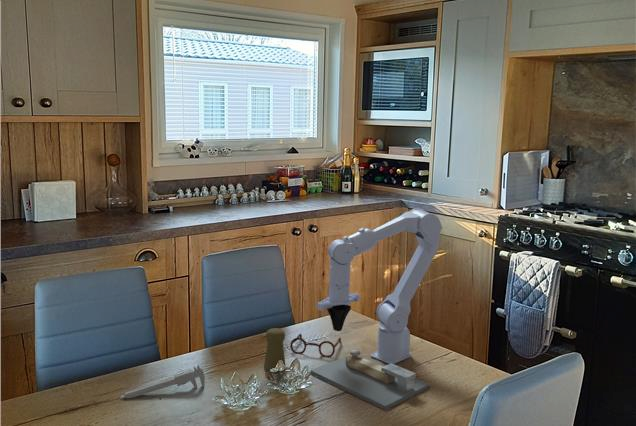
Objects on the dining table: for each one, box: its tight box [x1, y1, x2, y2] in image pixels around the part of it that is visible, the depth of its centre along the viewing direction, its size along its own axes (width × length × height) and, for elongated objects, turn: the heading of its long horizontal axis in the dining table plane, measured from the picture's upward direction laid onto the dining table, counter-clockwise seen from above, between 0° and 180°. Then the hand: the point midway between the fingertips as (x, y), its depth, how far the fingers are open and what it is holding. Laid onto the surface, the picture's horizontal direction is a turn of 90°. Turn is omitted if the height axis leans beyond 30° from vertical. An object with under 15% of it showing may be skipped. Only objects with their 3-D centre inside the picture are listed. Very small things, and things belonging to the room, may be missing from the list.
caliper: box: [119, 364, 206, 400], centre depth 150 cm, size 20×1×6 cm, turn 112°
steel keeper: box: [381, 363, 417, 393], centre depth 156 cm, size 8×4×4 cm, turn 44°
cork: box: [263, 327, 286, 373], centre depth 166 cm, size 6×6×11 cm
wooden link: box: [345, 349, 395, 384], centre depth 163 cm, size 15×4×4 cm, turn 44°
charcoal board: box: [310, 354, 431, 411], centre depth 161 cm, size 18×26×1 cm
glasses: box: [290, 333, 342, 358], centre depth 182 cm, size 13×13×5 cm
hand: (337, 330), depth 171 cm, fingers closed
